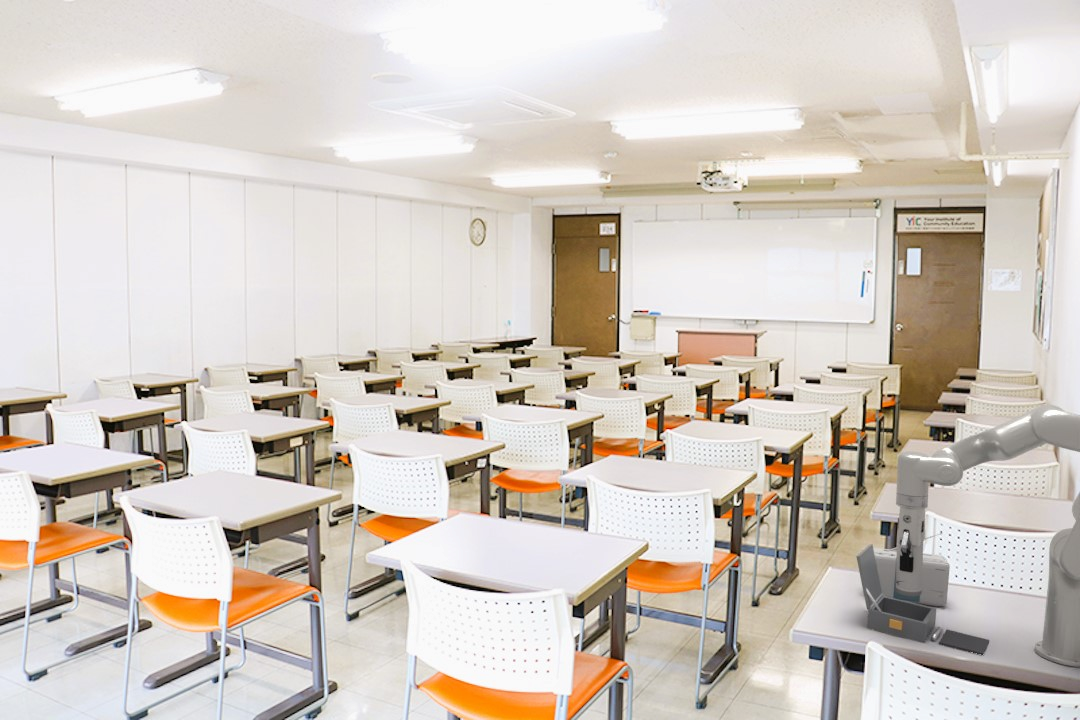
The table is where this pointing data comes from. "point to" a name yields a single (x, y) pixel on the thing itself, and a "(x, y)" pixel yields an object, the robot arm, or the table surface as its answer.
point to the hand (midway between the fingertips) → (909, 567)
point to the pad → (964, 642)
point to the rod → (936, 633)
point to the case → (892, 605)
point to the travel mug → (905, 580)
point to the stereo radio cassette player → (932, 577)
